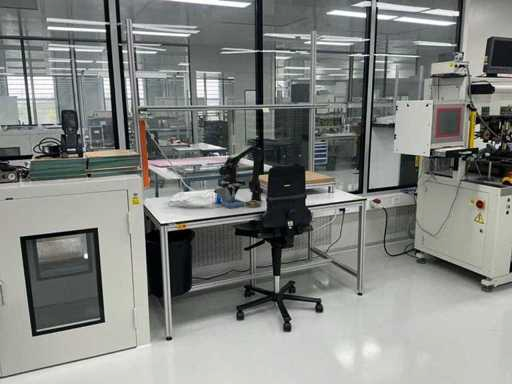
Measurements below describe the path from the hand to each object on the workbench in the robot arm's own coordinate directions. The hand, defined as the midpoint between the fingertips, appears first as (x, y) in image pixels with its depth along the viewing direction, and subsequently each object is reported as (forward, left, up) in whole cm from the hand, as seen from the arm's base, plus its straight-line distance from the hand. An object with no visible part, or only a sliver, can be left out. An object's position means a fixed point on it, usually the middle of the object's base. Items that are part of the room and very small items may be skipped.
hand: (232, 195), depth 301 cm
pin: (0, 0, -5) cm, 5 cm away
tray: (0, 0, -7) cm, 7 cm away
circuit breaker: (0, -13, -8) cm, 16 cm away
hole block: (-11, +9, -7) cm, 16 cm away
